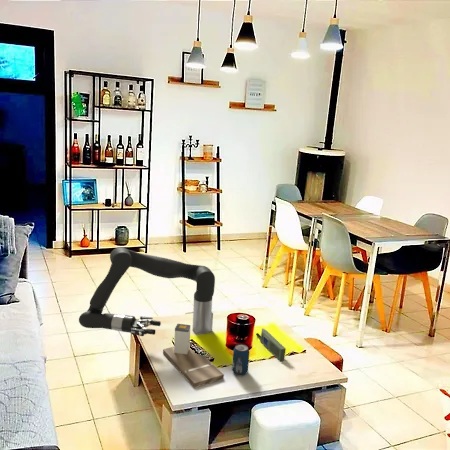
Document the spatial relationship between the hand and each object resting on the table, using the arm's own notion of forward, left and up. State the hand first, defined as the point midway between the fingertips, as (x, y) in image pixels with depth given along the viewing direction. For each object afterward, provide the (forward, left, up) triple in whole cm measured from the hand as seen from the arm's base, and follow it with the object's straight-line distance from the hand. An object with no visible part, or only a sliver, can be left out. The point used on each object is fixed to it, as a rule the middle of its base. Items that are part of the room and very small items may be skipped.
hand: (157, 327), depth 213 cm
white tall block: (-9, +7, -10) cm, 15 cm away
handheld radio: (-49, +20, -13) cm, 55 cm away
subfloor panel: (-9, +17, -12) cm, 23 cm away
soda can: (-25, +31, -12) cm, 42 cm away
